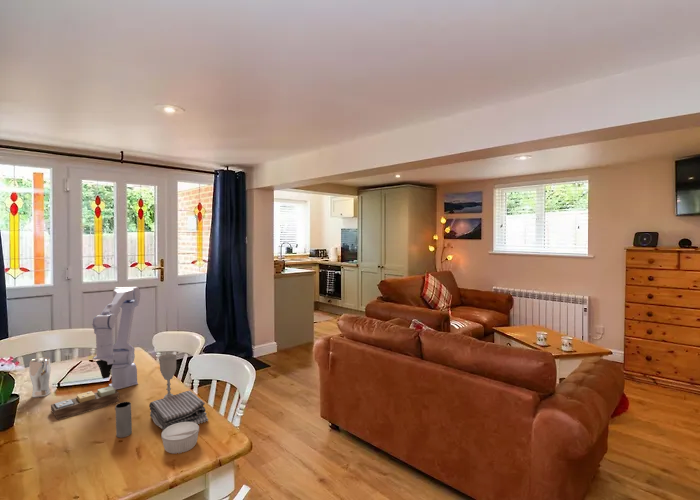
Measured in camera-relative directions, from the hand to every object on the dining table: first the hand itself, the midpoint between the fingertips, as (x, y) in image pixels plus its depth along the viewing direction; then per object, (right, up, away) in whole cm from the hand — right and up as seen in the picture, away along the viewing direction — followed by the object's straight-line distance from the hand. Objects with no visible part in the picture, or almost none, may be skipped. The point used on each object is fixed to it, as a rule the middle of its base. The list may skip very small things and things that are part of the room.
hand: (105, 377), depth 157 cm
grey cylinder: (+22, -11, -25) cm, 36 cm away
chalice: (+26, -10, 0) cm, 27 cm away
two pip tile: (-5, -7, -5) cm, 10 cm away
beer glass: (-31, -9, +6) cm, 33 cm away
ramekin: (+44, -12, -32) cm, 56 cm away
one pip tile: (0, -7, 0) cm, 7 cm away
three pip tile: (-9, -8, -10) cm, 16 cm away
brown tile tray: (-5, -10, -5) cm, 12 cm away
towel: (+36, -11, -16) cm, 41 cm away
